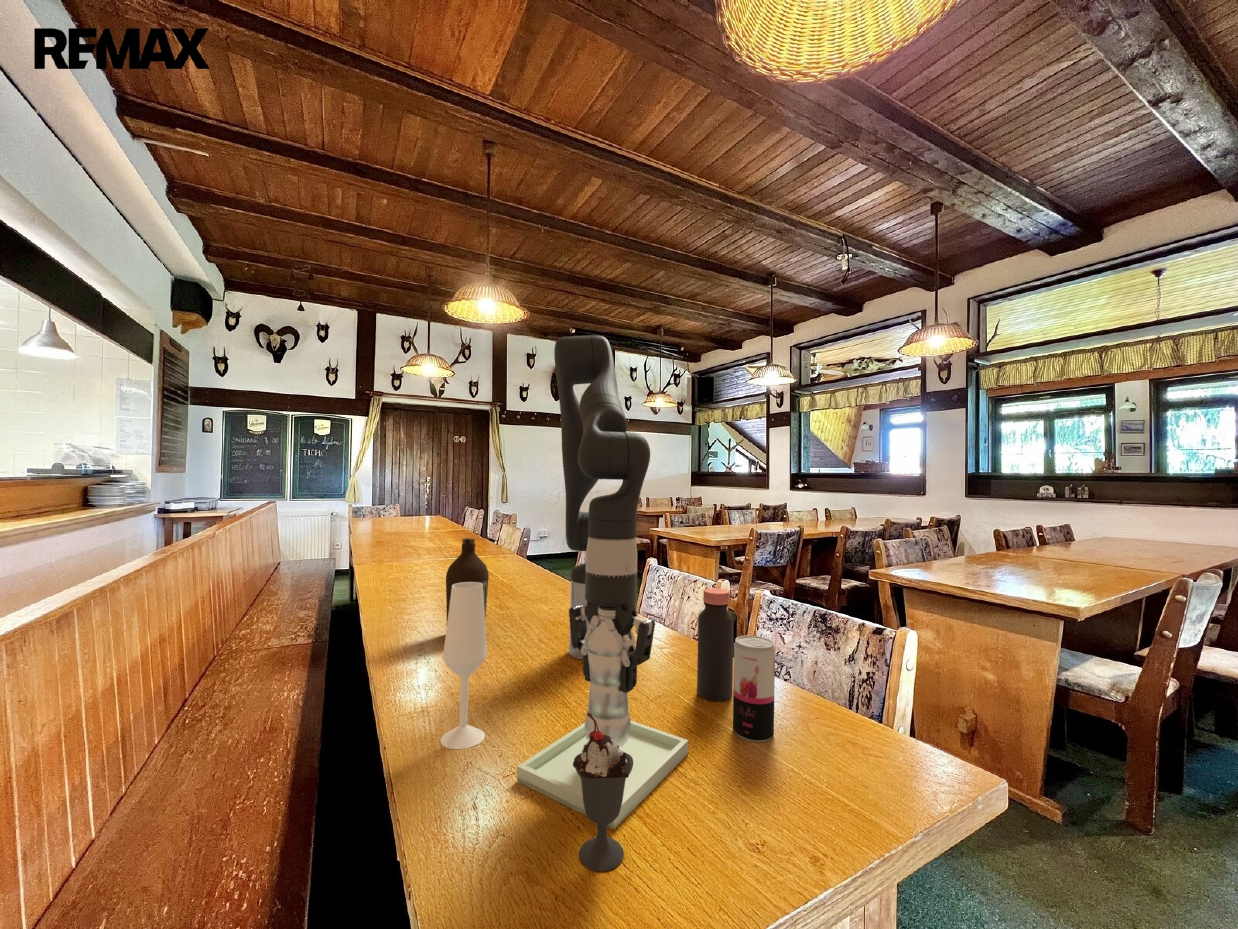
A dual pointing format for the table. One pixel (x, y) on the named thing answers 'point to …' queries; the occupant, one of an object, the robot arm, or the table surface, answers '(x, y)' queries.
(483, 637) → the champagne flute
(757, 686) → the beverage can
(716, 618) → the dark grey water bottle
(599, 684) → the silver metal bottle
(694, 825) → the table surface
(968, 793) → the table surface
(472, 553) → the olive oil
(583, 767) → the sundae
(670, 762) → the tray
